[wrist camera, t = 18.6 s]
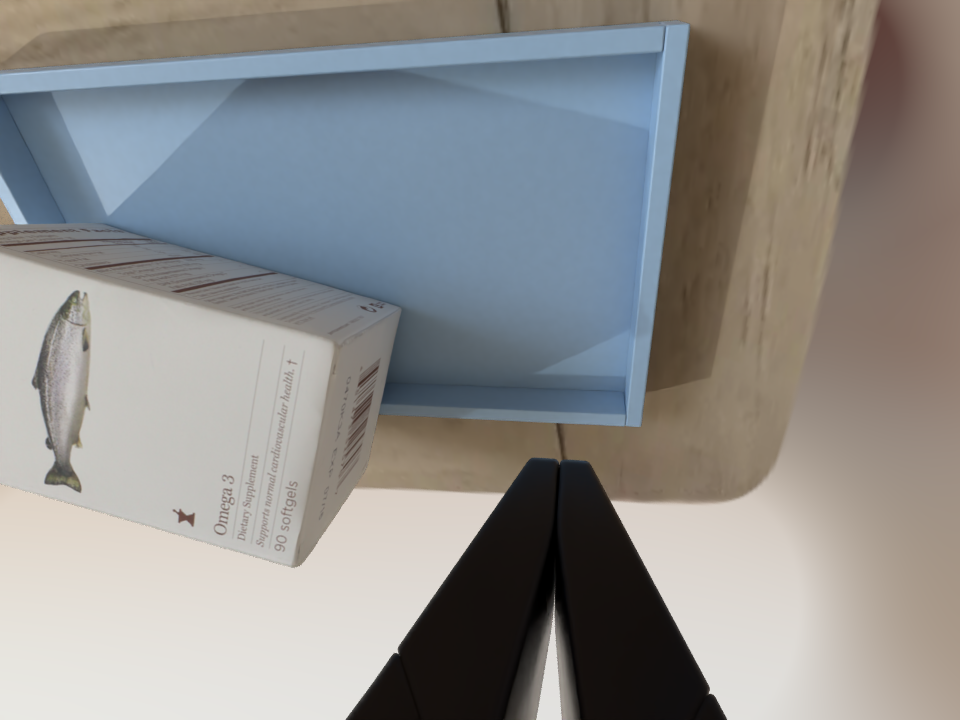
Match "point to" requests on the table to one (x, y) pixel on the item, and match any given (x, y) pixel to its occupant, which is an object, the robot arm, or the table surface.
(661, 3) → the table surface
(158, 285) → the white packaging box
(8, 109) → the tray
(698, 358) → the table surface
